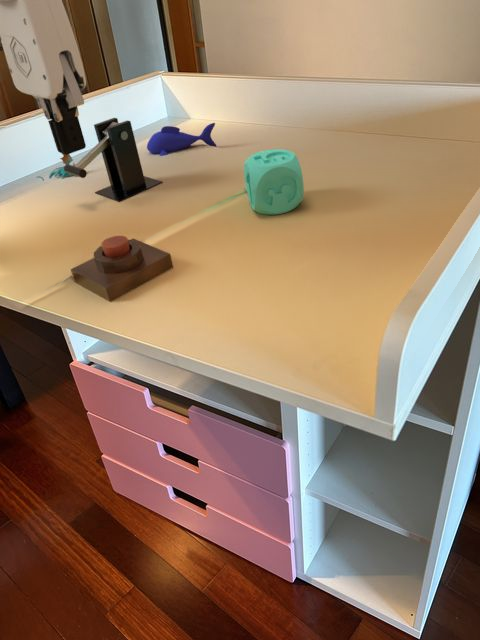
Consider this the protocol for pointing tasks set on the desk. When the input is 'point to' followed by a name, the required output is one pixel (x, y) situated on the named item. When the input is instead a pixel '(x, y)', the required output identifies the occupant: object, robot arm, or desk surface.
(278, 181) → the decorative dice
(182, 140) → the fish toy
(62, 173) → the dragon figurine
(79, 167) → the switch lever
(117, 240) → the button
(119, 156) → the switch bracket
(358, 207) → the desk surface
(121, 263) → the button block
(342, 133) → the desk surface
